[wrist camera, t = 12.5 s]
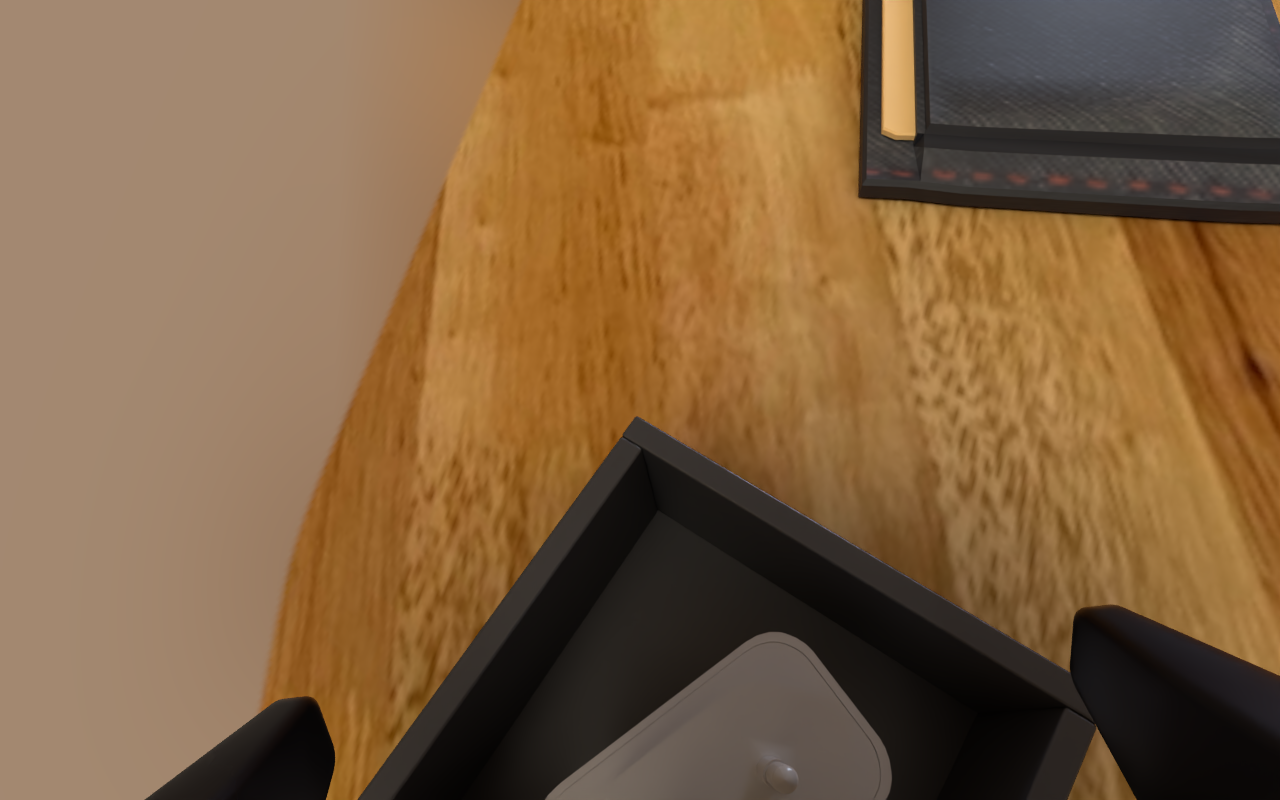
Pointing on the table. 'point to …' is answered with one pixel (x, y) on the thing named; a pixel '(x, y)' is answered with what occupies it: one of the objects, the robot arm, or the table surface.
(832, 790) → the power adapter
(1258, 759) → the robot arm
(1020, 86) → the wallet
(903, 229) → the table surface
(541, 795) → the open storage box
